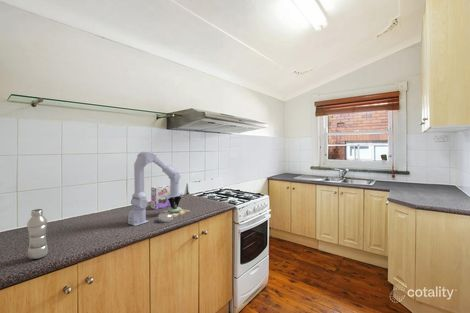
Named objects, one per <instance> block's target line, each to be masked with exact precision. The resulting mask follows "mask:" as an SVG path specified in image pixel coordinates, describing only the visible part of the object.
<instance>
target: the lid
mask: <svg viewBox="0 0 470 313" xmlns="http://www.w3.org/2000/svg"><path fill="white" fill-rule="evenodd" d="M182 209H183V208H182V207H180V206H178V207H177V204H175V203H174V208H171V207H167V210H168V211H169V212H178V211H181V210H182Z"/></svg>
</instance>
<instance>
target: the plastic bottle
mask: <svg viewBox="0 0 470 313" xmlns="http://www.w3.org/2000/svg"><path fill="white" fill-rule="evenodd" d="M43 214H44V211H43V208H36V209H32V210H31V211H30V215H31V217H30V218H29V220H28V221H27V223H26V225H27V232H28V237H29V238H28V240H29V241H28V242H29V243H28V249H27V255H28V258H29V259H30V260H37V259H41V258H43V257H45V256H47V254H48V253H49V247H48V242H47V226H48V220H47V217H45V216H44V215H43Z"/></svg>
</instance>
